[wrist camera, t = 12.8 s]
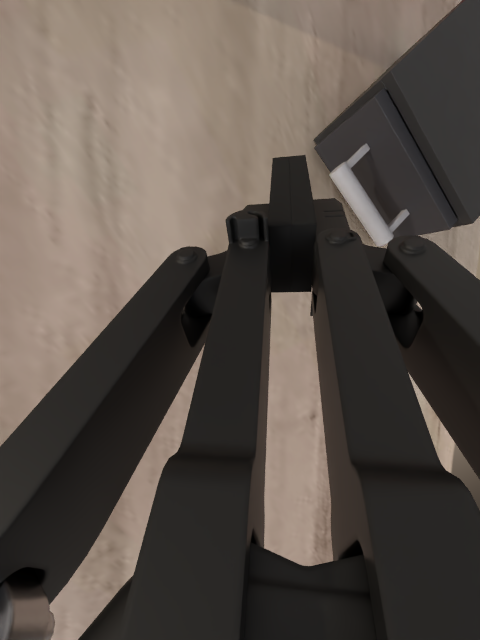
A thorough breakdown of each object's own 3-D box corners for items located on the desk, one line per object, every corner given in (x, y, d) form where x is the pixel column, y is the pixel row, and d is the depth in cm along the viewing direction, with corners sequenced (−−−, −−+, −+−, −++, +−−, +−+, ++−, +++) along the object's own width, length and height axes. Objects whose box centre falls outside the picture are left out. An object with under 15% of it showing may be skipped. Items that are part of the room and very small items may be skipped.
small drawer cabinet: (380, 241, 34) (472, 223, 24) (313, 140, 30) (390, 70, 21) (459, 157, 36) (572, 110, 27) (405, 52, 32) (515, -49, 23)
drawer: (354, 268, 32) (420, 263, 24) (285, 175, 29) (337, 132, 21) (453, 162, 35) (542, 125, 27) (402, 64, 31) (487, -12, 23)
